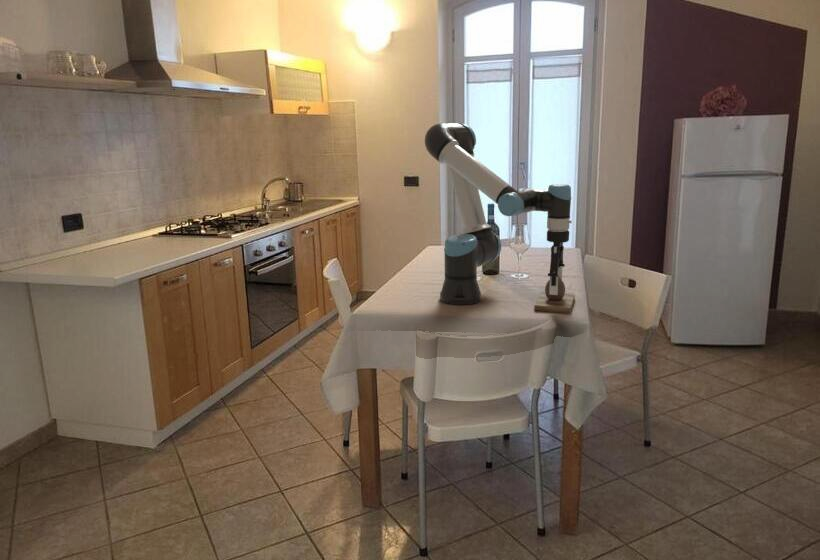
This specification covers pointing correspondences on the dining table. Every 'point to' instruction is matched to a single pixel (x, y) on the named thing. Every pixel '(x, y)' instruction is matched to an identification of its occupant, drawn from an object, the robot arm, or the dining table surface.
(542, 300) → the walnut board
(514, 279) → the dining table surface
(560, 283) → the vase
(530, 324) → the dining table surface
